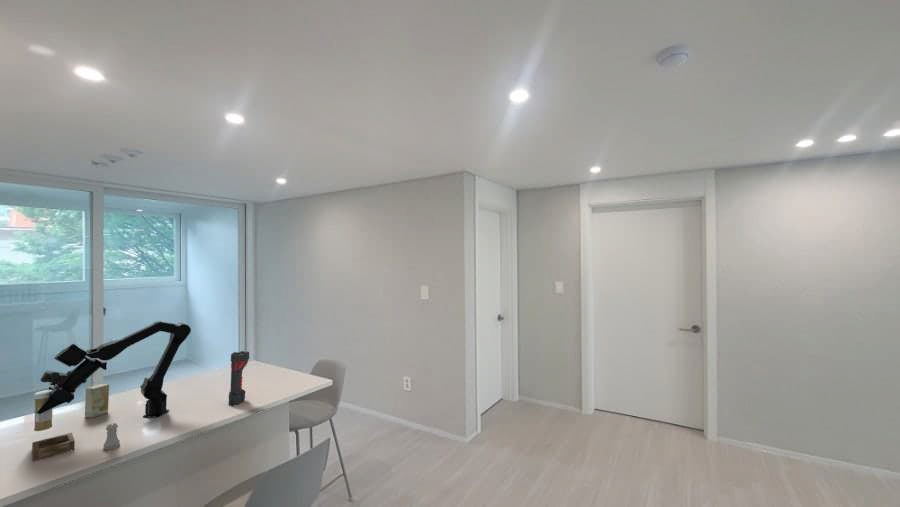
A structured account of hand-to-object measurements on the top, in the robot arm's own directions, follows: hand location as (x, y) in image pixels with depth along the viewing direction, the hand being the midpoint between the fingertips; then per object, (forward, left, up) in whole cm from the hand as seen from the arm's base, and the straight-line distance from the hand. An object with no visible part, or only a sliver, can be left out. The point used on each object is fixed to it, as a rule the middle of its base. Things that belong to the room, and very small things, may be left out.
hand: (37, 411), depth 132 cm
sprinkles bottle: (-1, -1, -7) cm, 7 cm away
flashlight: (-51, -38, -12) cm, 65 cm away
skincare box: (+2, -25, -12) cm, 28 cm away
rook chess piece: (-29, +3, -12) cm, 31 cm away
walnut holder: (-11, +5, -12) cm, 17 cm away
